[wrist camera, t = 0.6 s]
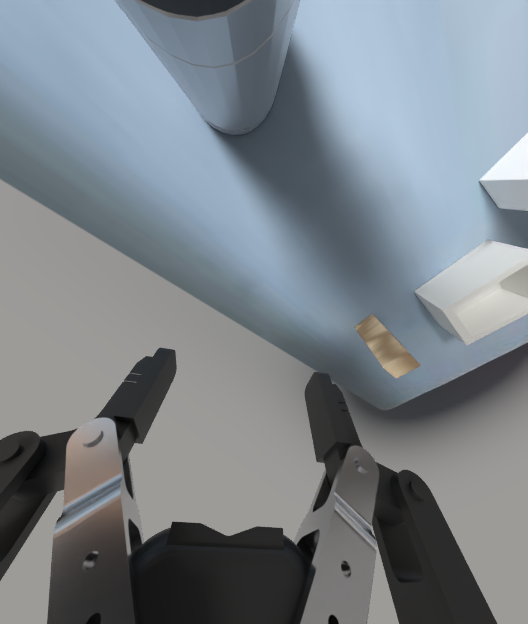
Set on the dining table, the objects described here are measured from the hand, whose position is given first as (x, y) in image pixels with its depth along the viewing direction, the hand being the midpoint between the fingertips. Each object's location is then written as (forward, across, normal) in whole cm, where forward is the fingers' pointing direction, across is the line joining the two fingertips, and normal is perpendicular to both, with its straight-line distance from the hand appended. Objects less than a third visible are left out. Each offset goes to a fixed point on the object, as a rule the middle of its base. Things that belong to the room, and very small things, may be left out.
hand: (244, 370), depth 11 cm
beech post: (+22, -24, +9) cm, 34 cm away
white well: (+23, -35, -2) cm, 42 cm away
